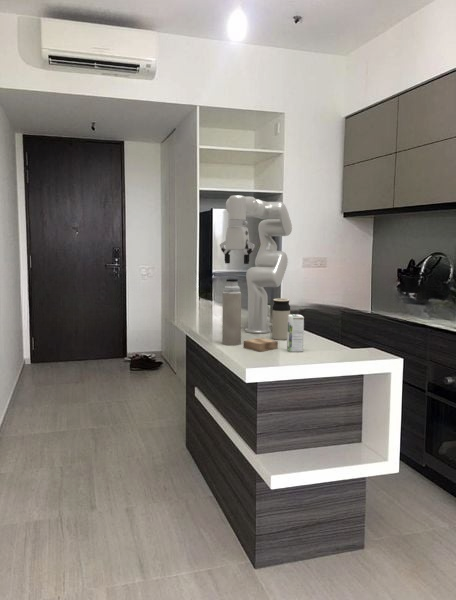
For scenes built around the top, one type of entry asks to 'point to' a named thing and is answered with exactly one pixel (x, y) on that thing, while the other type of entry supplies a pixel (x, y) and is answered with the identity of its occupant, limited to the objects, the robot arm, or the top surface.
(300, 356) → the top surface
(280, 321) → the travel mug
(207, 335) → the top surface
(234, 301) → the thermos bottle
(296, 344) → the syrup box
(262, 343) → the base block
